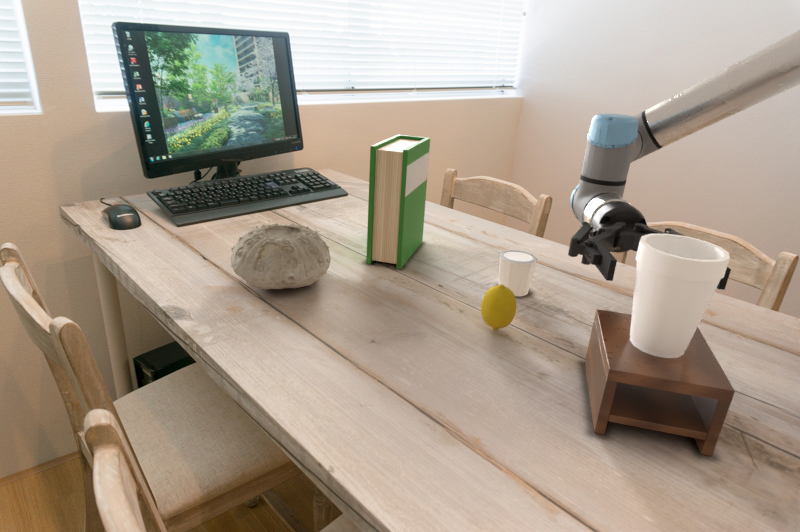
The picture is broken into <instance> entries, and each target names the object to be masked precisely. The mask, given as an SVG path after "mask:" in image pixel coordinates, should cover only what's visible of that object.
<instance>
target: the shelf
mask: <svg viewBox="0 0 800 532" xmlns="http://www.w3.org/2000/svg"><path fill="white" fill-rule="evenodd" d="M631 318H632V313H631V314H630V313H625V312H624V313H623V312H617V311H611V310H605V309H598V308H597V309H596V310H595V314H594V319H593V323H592V328H591V332H590V337H589V341H588V342H589V343H588V346H587V351H586V355H585V360H584V369H585V377H586V384H587V391H588V398H589V406H590V413H591V420H592V421H591V422H592V428H593V433H594V434H599V435H603V436H604V435H605V433H606V429H607V425H608V422H609V423H615V424H620V425H625V426H629V427H636V428H640V429H645V430H651V431H656V432H661V433H666V434H670V435H671V434H672V435H677V436H683V437H687V438H691V439H694V440H695V443H696V445H697V448H698V450H699V453H700V455H703V456H707V457H713V455H714V451H715V449H716V447H717V446H716V445H717V444H718V440H719V437H720V435H721V432H722V429H723V426H724V424H725V420H726V418H727V415H728V413H729V409H730V407H731V404H732V401H733V398H734V395H735V393H736V389H734V386H733V385H732V383H731V381H730V380H729V378H728V377H727V374H726V373H725V371H724V370H723V367H722V366H721V364H720V363H719V361H718V359H717V357H716V356H715V354H714V352H713V351H712V349H711V347H710V345H709V343H708V342H707V340H706V339H705V337H704V335H703V333H702V332H701V330H700V328H699V326H698V327H697V329H696V331H695V333H694V335H693V337H692V339H691V341H690V343H689V345H688V347H687V349H686V350H685V352H684V355H682V356H680V357H678V358H663V357H658V356H653V355H651V354H648V353H645V352H643V351H641V350H640V349H638V348H636V347H635V346H633V344H632V343H631V341H630V328H631Z"/></svg>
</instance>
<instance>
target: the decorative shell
mask: <svg viewBox="0 0 800 532" xmlns="http://www.w3.org/2000/svg"><path fill="white" fill-rule="evenodd" d="M329 248H330V247H329V245H328V244H327V243H326V241H325V240H324V239H323V238H322V236H321V235H320V234H319V233H318V231H317V230H313V229H311V228H310V227H309V226H305V225H303V224H298V223H297V224H296V223H289V224H287V223H284V224H281V223H279V224H278V223H269V224H263V225H261V226H255V228H253V229H251V230H250V231H248V232H247V233H246V234H244V235H242V236H240V237H238V241H237V242H236V244H235V245H233V246H232V247H231V254H230V257H229V259H230V267H231V268H232V270H233V272H234V273H235V275H237V276H239V277H240V278H242V279H243V280H244V281H245V282H246V284H248V285H249V286H251V287H254V288H255V287H256V288H258V289H261V290H267V291H268V290H283V289H298V288H302V287H308V286H311V285H312V284H314V283H315V282H318V281H320V280H321V278H323V277H324V275H326V274H327V272H328V270H329V268H330V264H331V261H332V258H331V254H330V249H329Z"/></svg>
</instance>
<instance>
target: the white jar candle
mask: <svg viewBox="0 0 800 532" xmlns="http://www.w3.org/2000/svg"><path fill="white" fill-rule="evenodd" d="M498 260H499V261H498V284H497V285H500V284H503V285H504V286H505V287H507V288H509V289H510V290H511V291H512V292H513V293H514V295H515V297H525V296H527V295H528V293H529V291H530V287H531V283H532V280H533V277H534V272H535V269H536V265H537V260H538V258H537V256H536V255H534V254H533V253H530V252H527V251H524V250H516V249H507V250H503V251H501V252H500V253H499V259H498Z"/></svg>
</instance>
